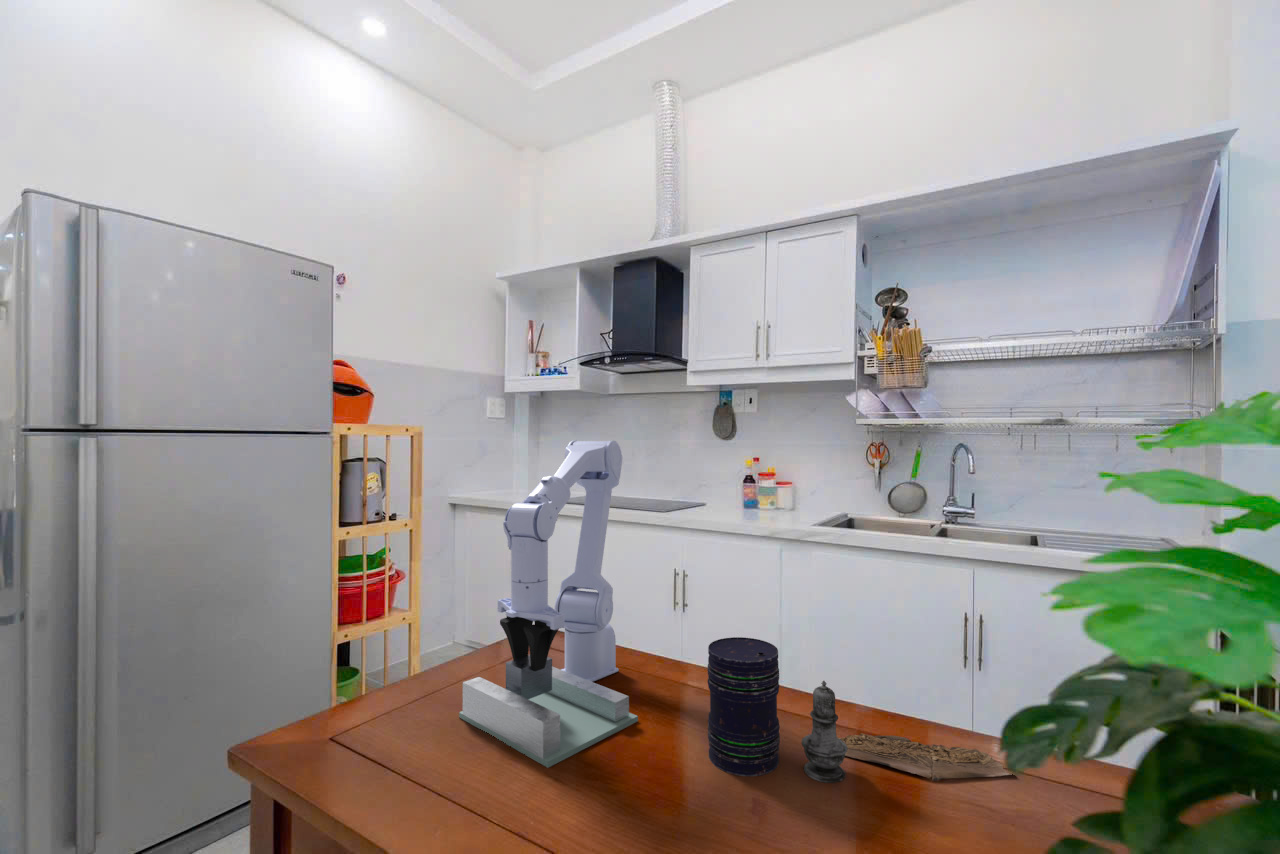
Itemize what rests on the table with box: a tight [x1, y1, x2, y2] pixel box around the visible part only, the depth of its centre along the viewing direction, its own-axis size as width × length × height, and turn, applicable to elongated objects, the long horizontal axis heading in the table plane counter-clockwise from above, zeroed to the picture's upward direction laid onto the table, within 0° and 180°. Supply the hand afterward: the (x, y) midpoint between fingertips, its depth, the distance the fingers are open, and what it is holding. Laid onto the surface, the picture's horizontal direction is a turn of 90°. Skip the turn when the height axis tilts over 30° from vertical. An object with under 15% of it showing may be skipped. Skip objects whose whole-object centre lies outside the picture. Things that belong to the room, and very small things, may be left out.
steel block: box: [505, 654, 553, 699], centre depth 95 cm, size 6×4×5 cm, turn 138°
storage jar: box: [707, 636, 781, 777], centre depth 84 cm, size 10×10×15 cm
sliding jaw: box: [548, 665, 630, 722], centre depth 100 cm, size 3×20×3 cm, turn 48°
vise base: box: [458, 676, 639, 769], centre depth 95 cm, size 18×22×6 cm
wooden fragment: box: [838, 733, 1018, 782], centre depth 84 cm, size 26×11×1 cm, turn 70°
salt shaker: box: [800, 680, 848, 784], centre depth 80 cm, size 6×6×12 cm
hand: (529, 665), depth 95 cm, fingers closed on steel block, 4 cm apart
